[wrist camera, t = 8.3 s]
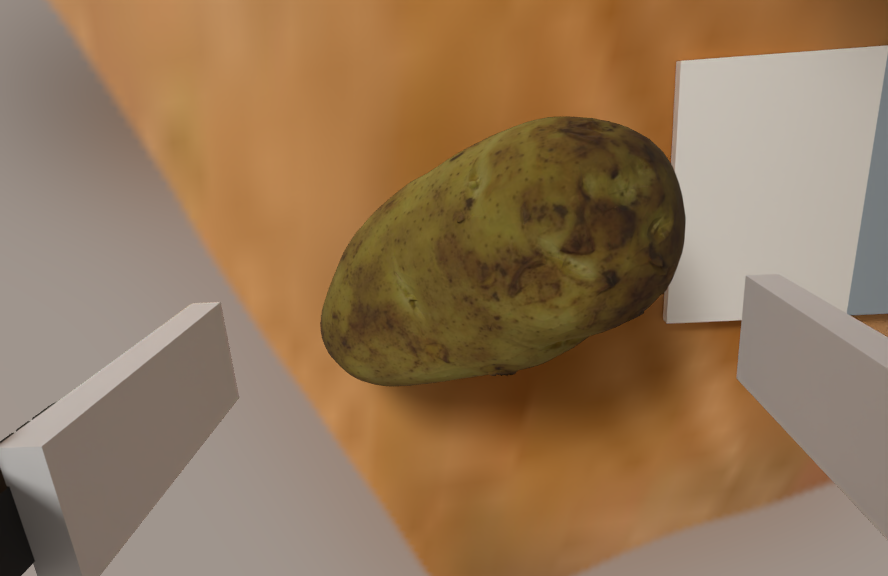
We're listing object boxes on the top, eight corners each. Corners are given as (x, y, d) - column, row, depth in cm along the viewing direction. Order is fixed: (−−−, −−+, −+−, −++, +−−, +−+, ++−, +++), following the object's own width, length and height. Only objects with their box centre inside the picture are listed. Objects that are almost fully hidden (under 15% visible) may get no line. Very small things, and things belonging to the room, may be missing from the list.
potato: (293, 173, 23) (207, 215, 16) (621, 88, 22) (699, 89, 14) (355, 359, 26) (306, 473, 18) (653, 295, 24) (734, 390, 17)
